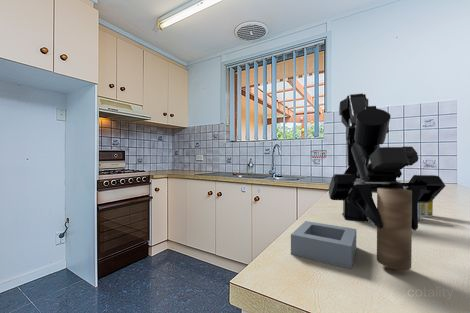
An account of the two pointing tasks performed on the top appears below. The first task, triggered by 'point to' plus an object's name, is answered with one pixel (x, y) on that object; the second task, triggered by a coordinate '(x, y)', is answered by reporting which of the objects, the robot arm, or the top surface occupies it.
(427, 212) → the supplement bottle
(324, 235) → the well
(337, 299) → the top surface
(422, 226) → the top surface
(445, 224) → the top surface
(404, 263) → the walnut cylinder
